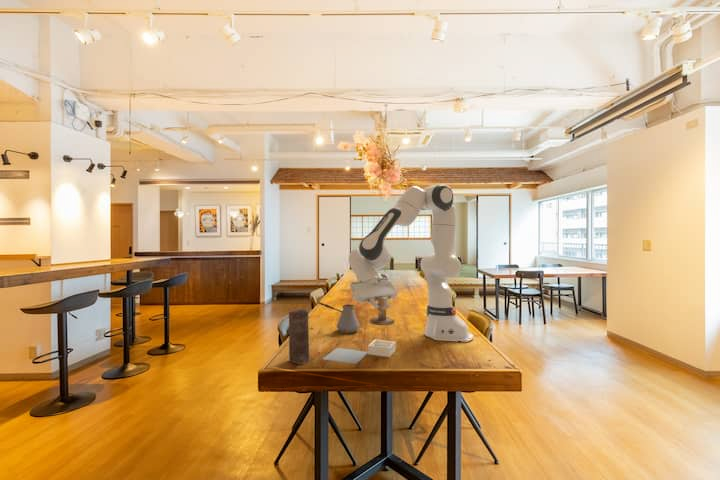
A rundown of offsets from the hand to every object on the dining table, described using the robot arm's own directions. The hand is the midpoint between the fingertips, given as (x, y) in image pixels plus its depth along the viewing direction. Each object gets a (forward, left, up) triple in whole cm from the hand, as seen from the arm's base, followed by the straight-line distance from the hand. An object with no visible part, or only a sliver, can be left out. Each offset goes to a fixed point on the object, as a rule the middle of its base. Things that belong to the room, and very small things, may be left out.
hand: (383, 307), depth 139 cm
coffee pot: (+30, -23, -19) cm, 43 cm away
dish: (0, 0, -19) cm, 19 cm away
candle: (+26, +21, -19) cm, 38 cm away
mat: (+12, +9, -19) cm, 24 cm away
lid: (+1, 0, -6) cm, 6 cm away
